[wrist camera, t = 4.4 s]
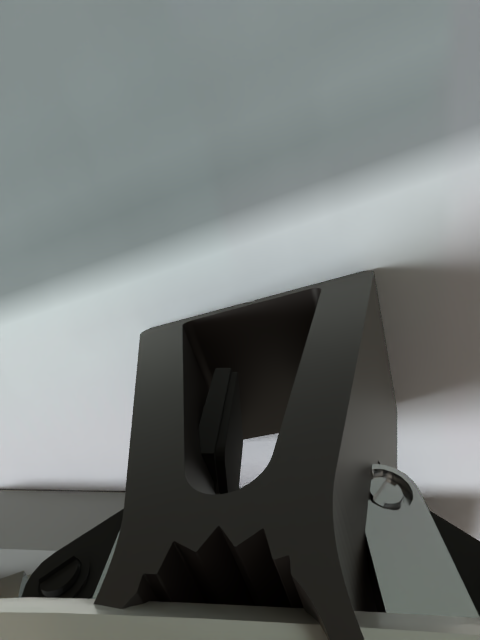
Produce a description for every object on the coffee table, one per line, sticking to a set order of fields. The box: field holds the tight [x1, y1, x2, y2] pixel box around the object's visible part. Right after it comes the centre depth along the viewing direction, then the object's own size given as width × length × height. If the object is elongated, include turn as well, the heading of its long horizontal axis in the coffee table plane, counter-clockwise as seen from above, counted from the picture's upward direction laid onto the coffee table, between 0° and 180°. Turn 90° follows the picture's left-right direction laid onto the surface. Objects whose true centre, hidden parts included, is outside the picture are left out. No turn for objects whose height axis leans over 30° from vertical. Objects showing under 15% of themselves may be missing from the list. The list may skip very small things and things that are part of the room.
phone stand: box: [94, 271, 397, 640], centre depth 8 cm, size 9×6×12 cm, turn 106°
